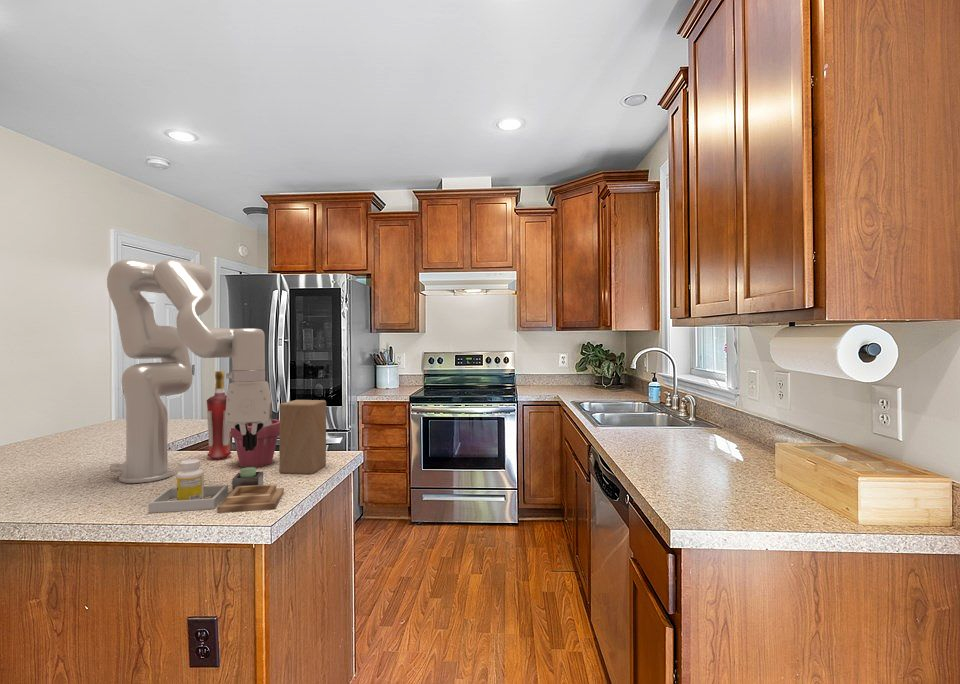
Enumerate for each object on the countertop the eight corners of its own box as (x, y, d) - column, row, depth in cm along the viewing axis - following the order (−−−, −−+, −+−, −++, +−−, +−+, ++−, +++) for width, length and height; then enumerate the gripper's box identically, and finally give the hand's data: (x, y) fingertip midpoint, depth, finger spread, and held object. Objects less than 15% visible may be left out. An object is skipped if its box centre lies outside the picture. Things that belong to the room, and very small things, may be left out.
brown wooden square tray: (217, 512, 109) (217, 500, 109) (231, 495, 121) (231, 484, 121) (275, 508, 112) (275, 496, 112) (283, 492, 123) (283, 482, 123)
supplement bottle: (184, 499, 118) (184, 458, 118) (207, 498, 118) (208, 458, 118) (172, 507, 112) (172, 464, 112) (196, 506, 113) (197, 463, 113)
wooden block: (326, 465, 150) (326, 400, 150) (312, 474, 140) (312, 404, 140) (295, 464, 151) (295, 399, 151) (278, 473, 141) (278, 403, 141)
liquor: (209, 456, 161) (209, 370, 161) (233, 454, 163) (234, 370, 163) (204, 461, 154) (204, 372, 154) (229, 459, 156) (230, 371, 156)
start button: (238, 481, 123) (238, 471, 123) (242, 477, 126) (242, 467, 126) (254, 480, 123) (254, 470, 123) (257, 476, 127) (257, 467, 127)
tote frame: (148, 513, 108) (148, 503, 108) (168, 497, 119) (168, 488, 119) (214, 508, 111) (214, 499, 111) (227, 493, 122) (227, 484, 122)
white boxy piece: (232, 495, 121) (232, 479, 121) (238, 488, 127) (238, 472, 127) (258, 493, 122) (258, 477, 122) (263, 486, 128) (263, 471, 128)
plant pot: (226, 462, 153) (226, 421, 153) (273, 456, 162) (273, 417, 162) (236, 472, 142) (236, 428, 142) (286, 465, 151) (286, 423, 151)
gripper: (212, 379, 119) (213, 455, 119) (278, 377, 123) (279, 451, 123) (221, 377, 127) (222, 448, 126) (282, 375, 130) (283, 445, 130)
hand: (250, 449), depth 125 cm, fingers closed
